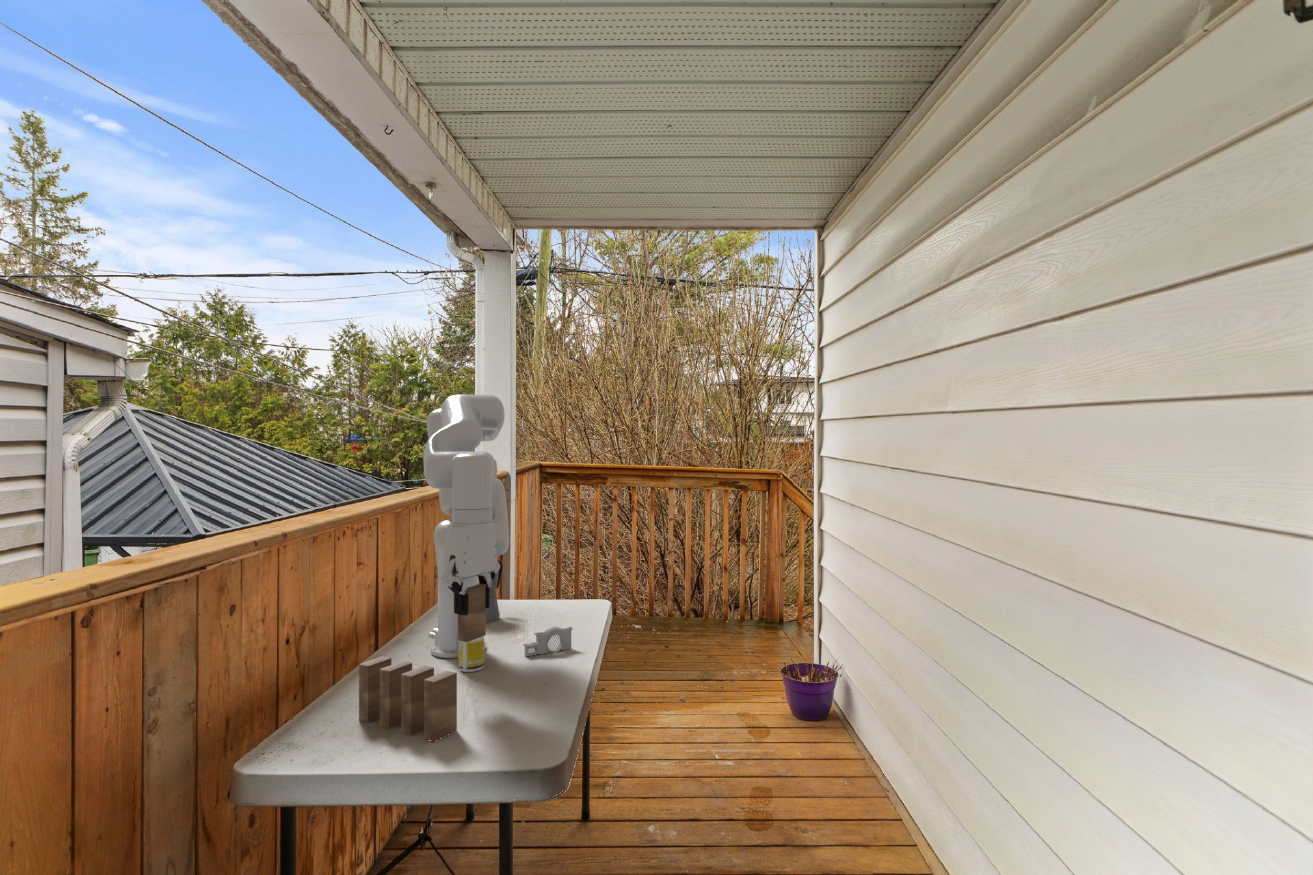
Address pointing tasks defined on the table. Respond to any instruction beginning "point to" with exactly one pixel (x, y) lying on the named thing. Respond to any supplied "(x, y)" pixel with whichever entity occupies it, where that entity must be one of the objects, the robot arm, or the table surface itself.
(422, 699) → the domino
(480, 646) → the supplement bottle
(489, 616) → the coffeepot
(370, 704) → the domino
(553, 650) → the garden wall model
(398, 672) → the domino
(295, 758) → the table surface
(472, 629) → the domino
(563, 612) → the table surface
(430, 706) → the domino
